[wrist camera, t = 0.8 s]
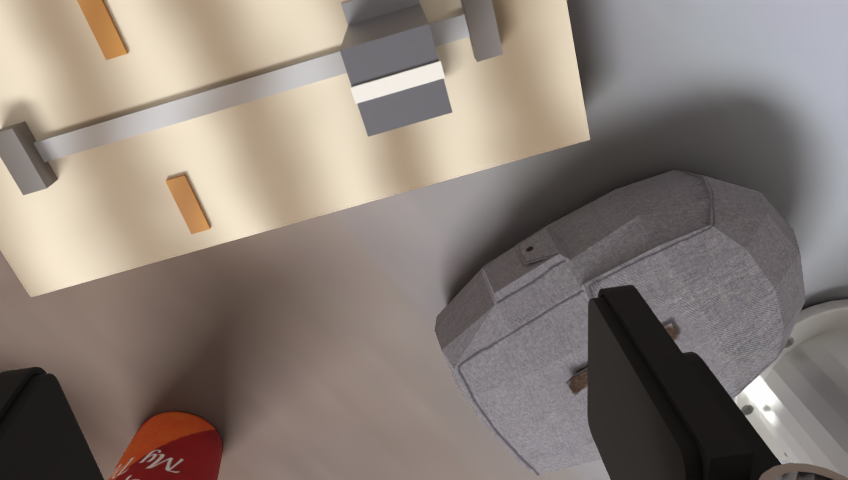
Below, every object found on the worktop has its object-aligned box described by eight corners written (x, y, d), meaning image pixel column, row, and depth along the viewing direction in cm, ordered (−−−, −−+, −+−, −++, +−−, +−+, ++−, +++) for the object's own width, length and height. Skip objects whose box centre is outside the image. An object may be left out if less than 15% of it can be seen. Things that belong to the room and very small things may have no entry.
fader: (414, -20, 28) (423, -4, 22) (444, 91, 30) (460, 135, 24) (340, 2, 28) (329, 25, 22) (375, 111, 30) (374, 160, 24)
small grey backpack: (523, 439, 45) (800, 296, 41) (551, 543, 37) (893, 379, 34) (401, 281, 39) (712, 96, 35) (405, 367, 31) (801, 144, 28)
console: (520, -174, 29) (541, -188, 25) (574, 122, 35) (597, 147, 31) (-96, 21, 31) (-161, 35, 27) (56, 270, 37) (19, 309, 33)
